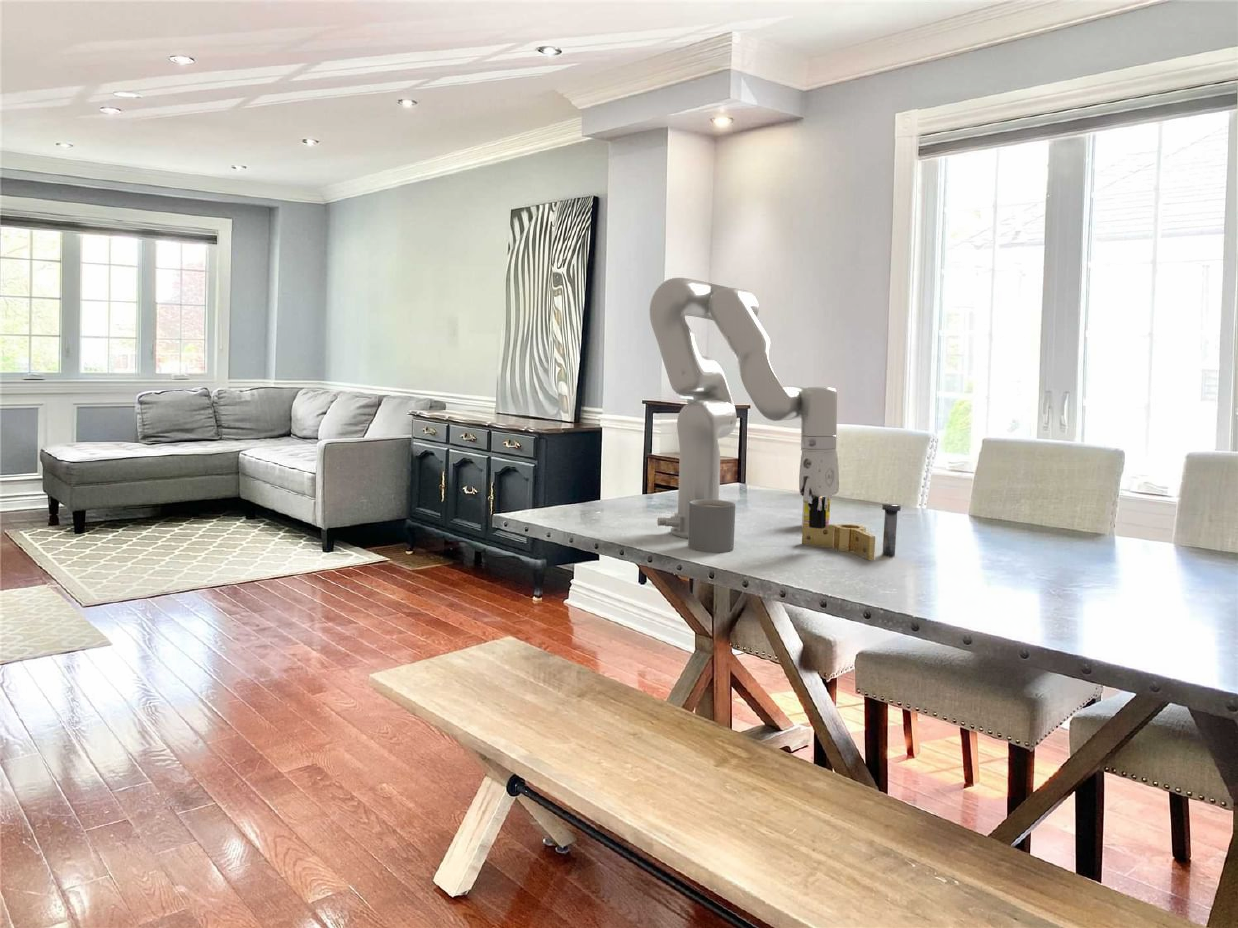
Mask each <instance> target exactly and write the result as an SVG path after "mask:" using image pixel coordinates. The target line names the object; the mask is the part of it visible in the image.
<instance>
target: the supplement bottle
mask: <svg viewBox="0 0 1238 928" xmlns="http://www.w3.org/2000/svg"><path fill="white" fill-rule="evenodd" d="M802 497H804V496H802ZM802 502H803V501H802ZM824 510H825V509H824ZM830 511H831V499H829V500H828V504H827V509H826V524H830ZM801 517H802V518H801V519H802V520H801V524H802V525H803V522H809V509H808V503H804V502H803V503H802V516H801Z"/></svg>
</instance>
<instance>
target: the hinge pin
mask: <svg viewBox="0 0 1238 928" xmlns="http://www.w3.org/2000/svg"><path fill="white" fill-rule="evenodd" d="M881 506H882V507H881V510H883V511H884V519H883V520H884V521H883V536H882V537H883V538H882V540H883V541H882V552H881V553H882V556H883V557H891V558H892V557H895V556H896V543H897V528H898V527H897V525H898V513H899V512H901V508H902V505H901V504H899V503H898V504H897V503H882V505H881Z"/></svg>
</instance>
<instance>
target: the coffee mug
mask: <svg viewBox="0 0 1238 928" xmlns="http://www.w3.org/2000/svg"><path fill="white" fill-rule="evenodd" d="M735 523H736V503H734V502H733V501H729V500H723V499H722V500H721V499H719V500H694V501H691V502H690V507H689V536H688V538H687V539H688V540H687V541H688V542H687V548H688V549H689V550H692V551H694V552H700V553H708V554H709V553H710V554H720V553H721V554H723V553H724V554H725V553H730V552H733V551H734V549H735V548H734V547H735V527H736V525H735Z"/></svg>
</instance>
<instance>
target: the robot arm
mask: <svg viewBox="0 0 1238 928" xmlns="http://www.w3.org/2000/svg"><path fill="white" fill-rule="evenodd" d="M759 307H760V306H759V303H758V300H757V299H756V297H755V295H753V294H752V293H751V292H750V291H749V290H745V289H740V288H736V287H728V286H724V285H719V284H714V283H713V282H712V283H711V282H707V281H702V280H696V279H693V278H692V279H691V278H685V277H673V278H668V279H667V280H665V281H663V282H662V283H661V284H660V285H659V286H658V287H657V288H656V289H655V291H654V292H653V296H652V298H651V301H650V305H649V321H650V325H651V327H652V331H653V333H654V337H655V338H656V342H657V345H658V348H659V351H660V352H659V353H660V354H661V359H662V363H663V364H664V367H665V371H666V375H667V378H668V380H669V384H670V387H671V389H672V390H673V391H674V392H675V393H676V394H677V395H679V396H682V397H692V398H693V401H690V402H688V403H686V404H685V405H684V406H683V407H682V408H681V410H680V411H679V413H678V415H677V423H676V429H677V436H678V438H677V439H678V443H679V444H678V445H679V459H678V460H679V463H678V464H679V466H678V468H679V470H678V498H677V499H678V500H677V512H675V513H674V515H673V516H670V517H657V526H658V527H659V526H661V527H662V526H663V527H670V534H671V535H673V536H676V537H680V538H685V539H688V536H689V507H690V502H691V501H694V500H720V483H721V482H720V481H721V479H720V478H721V477H720V476H721V451H720V446H719V441H718V440H719V439H723V438H726V437H728V436H729V435H730V434H732V433H733V431H734V430H735V428H736V425H737V418H738V417H737V415H738V414H737V411H736V407H735V404H734V400H733V397H732V394H731V391H730V387H729V384H728V382H727V381H728V380H727V379H726V376H725V372H724V371H723V369H722V366H721V365H720V364H719V363H718V362H717V361H716V360H714V359H713V358H712V357H708V356H706V355H705V356H703V355H701V354H700V352H699V348H698V346H697V343H696V340H695V336H694V334H693V333H694V332H693V331H692V329H691V327H690V326H689V325H688V323H687V321H686V317H687V316H688V317H695V318H696V317H697V318H701V319H704V320H710V321H713V322H714V324H715V325H716V327H717V329H718V330H719V332H720V334H721V335H722V337H723V338H724V340H725V341H726V342H725V343H727V345H728V346H729V348H730V350H731V352H732V353H733V355H734V357H735V359H736V361H737V368H738V371H739V375H740V379H741V382H742V384H743V387H744V389H745V390H746V393H747V395H748V396H749V398H750V399H751V401H752V403H753V404H754V406H755V407H756V409H757V411H758V412H759V413H760V414H761V415H762V416H763V417H764V418H766V419H767V420H769V421H772V422H780V421H790V420H799V419H801V420H800V421H801V422H800V423H801V425H800V428H801V429H800V432H801V433H800V435H801V436H800V441H801V442H800V451H801V456H800V462H799V464H800V465H799V472H798V473H799V479H798V490H799V494H800V495H801V496H802V497H803V496H804V497H803V499H802V502H804V503H808V509H809V527H810V528H819V529H822V528H825V527H826V509H827V504H828V500H829V499H830V500H831V499H832V498H833V496H834V495H837V494H838V493H839V490H840V475H839V474H840V473H839V471H840V469H839V468H840V467H839V458H838V453H837V430H838V428H837V426H838V425H837V424H838V423H837V421H838V420H837V419H838V393H837V392H838V391H837V390H836V389H835V388H833V387H829V386H809V387H802V386H795V385H783V384H782V383H781V382H780V380H779V378H778V376H777V375H776V374H775V372H774V370H773V368H772V366H771V363H770V360H769V350H770V347H771V339H770V337H769V336H768V333H767V332H766V330H765V329H764V328H763V325H762V324H761V323H760V321H759V320H758V318H757V317H758V315H759ZM824 509H825V510H824Z"/></svg>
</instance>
